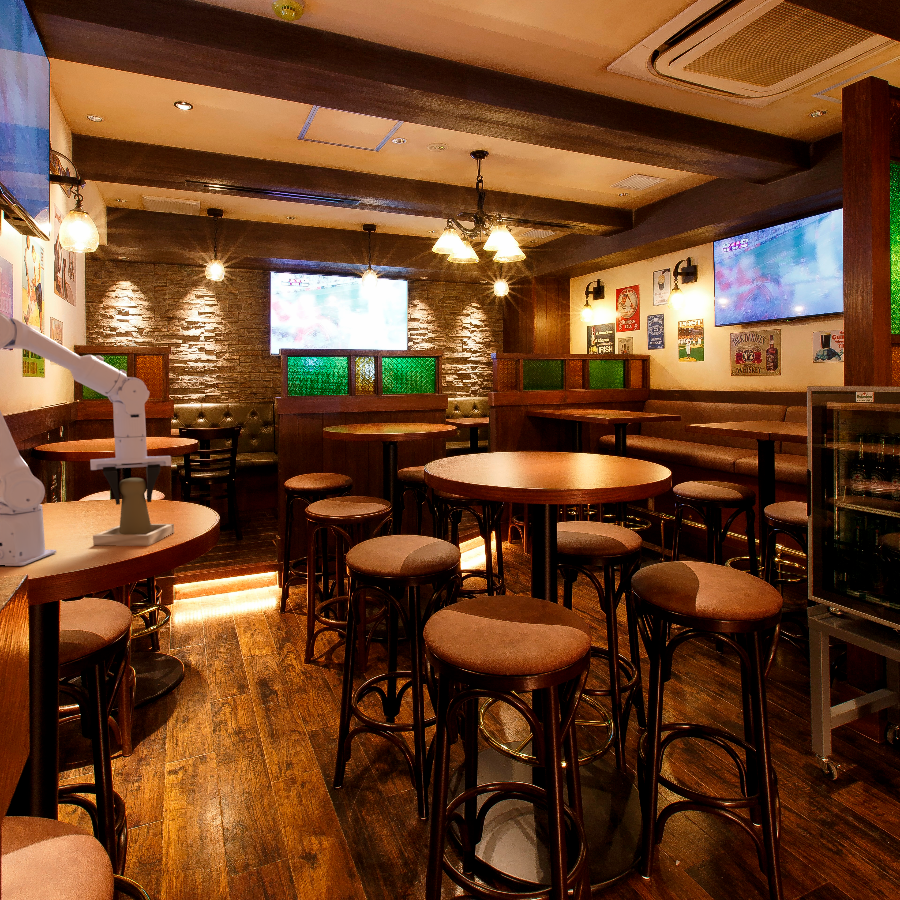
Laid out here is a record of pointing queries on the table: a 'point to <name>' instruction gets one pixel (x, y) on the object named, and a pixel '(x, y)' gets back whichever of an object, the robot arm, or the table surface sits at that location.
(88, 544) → the table surface
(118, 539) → the open square wooden box
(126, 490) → the cork
